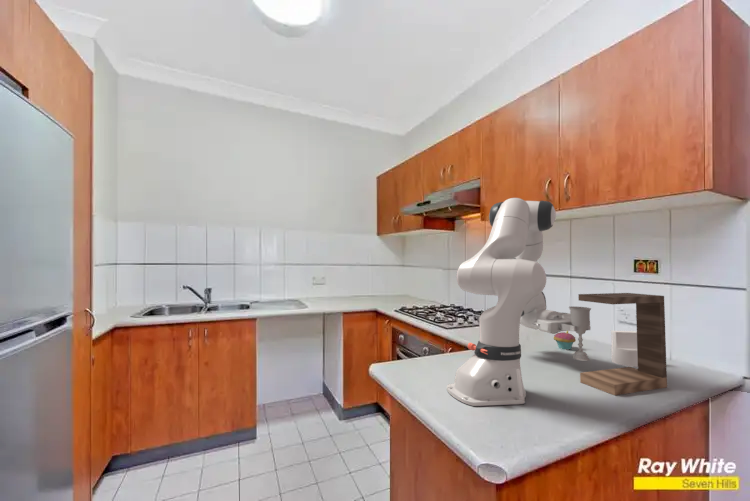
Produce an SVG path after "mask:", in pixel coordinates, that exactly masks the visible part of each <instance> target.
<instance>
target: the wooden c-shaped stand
mask: <svg viewBox="0 0 750 501" xmlns="http://www.w3.org/2000/svg"><path fill="white" fill-rule="evenodd" d="M578 301H581V302H589V303H598V304H606V305H607V304H608V305H626V304H627V305H630V304H631V305H633V304H635V314H636V315H635V320H636V332H637V355H638V367H631V366H626V367H625V366H624V367H618V368H617V367H616V368H609V369H601V370H600V369H599V370H593V371H584V372H580V373H579V381H580V383H581V384H584V385H587V386H589V387H591V388H594V389H597V390H599V391H602V392H604V393H608V394H610V395H611V396H612V395H613V396H620V395H626V394H634V393H638V392H640V393H641V392H645V391H652V390H658V389H659V390H660V389H665V388H668V376H667V375H668V374H667V371H668V370H667V345H666V344H667V343H666V341H667V340H666V317H665V316H666V314H665V313H666V312H665V295H661V294H660V295H656V294H645V293H633V292H617V293H615V292H614V293H612V292H610V293H580V294H578Z"/></svg>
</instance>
